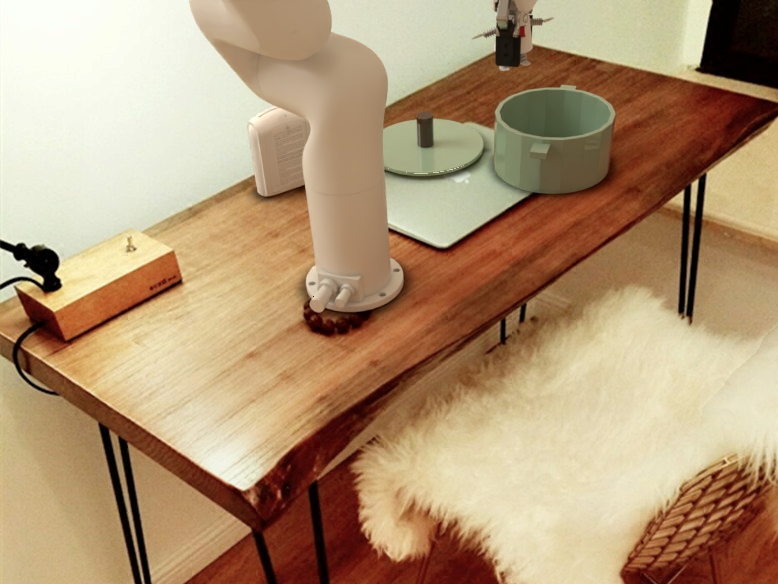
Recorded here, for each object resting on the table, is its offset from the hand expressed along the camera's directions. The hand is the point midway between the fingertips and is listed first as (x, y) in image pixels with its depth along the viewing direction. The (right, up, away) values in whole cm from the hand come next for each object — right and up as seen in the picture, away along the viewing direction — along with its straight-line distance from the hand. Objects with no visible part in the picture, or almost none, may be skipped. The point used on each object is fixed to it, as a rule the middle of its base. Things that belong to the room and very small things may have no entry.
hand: (513, 53), depth 121 cm
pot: (+8, -10, +18) cm, 22 cm away
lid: (-11, -6, +23) cm, 26 cm away
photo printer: (-32, -13, +17) cm, 39 cm away
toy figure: (0, -1, +1) cm, 2 cm away
